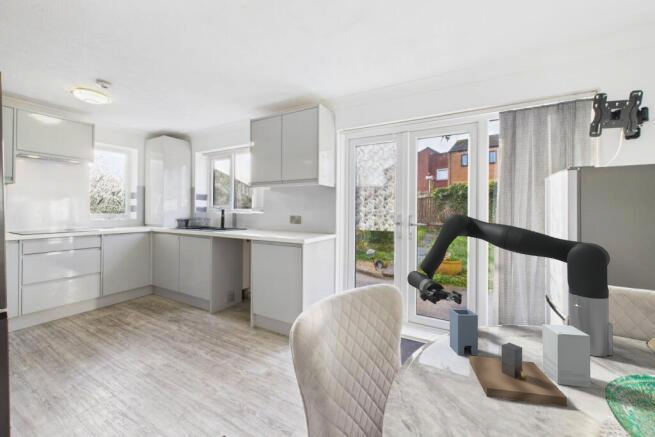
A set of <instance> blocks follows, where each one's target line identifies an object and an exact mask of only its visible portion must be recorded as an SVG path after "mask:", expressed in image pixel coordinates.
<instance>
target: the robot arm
mask: <svg viewBox="0 0 655 437" xmlns="http://www.w3.org/2000/svg"><path fill="white" fill-rule="evenodd" d="M458 237H469V238H474V239H479V240H481V241H485V242H487V243H489V244H491V245H492V246H495V247H498V248H499V249H501V250H504V251H505V250H506V251H509V252H513V253H516V254H520V255H524V256H525V255H526V256H530V257H531V256H532V257H538V258H539V257H540V258H546V259H547V258H548V259H552V260H557V261H560V262H563V263H566V269H567V270H566V273H567V274H566V275H567V277H566V278H567V284H568V301H569V302H568V305H569V307H568V314H569V316H568V317H569V318H568V320H569V324H568V326H573V327H575V328H576V329H578V330H580V331H582V332H584V333H585V334H587V335H589V336H590V356H592V357H593V356H594V357H602V358H603V357H608V356H607V355H609V356H611V355H613V356H614V345H613V344H614V339H613V338H614V336H613V335H614V325H613V323H612V322H610V298H609V297H610V295H609V294H610V289H609V283H608V282H609V281H608V266H609V264H610V261H611V257H610V253H609V252H608V251H607V250H606V249H605V248H604V247H603V246H601V245H599V244H596V243H592V242H591V243H590V242H583V241H574V240H569V239H563V238H558V237H554V236H551V235H548V234H545V233H543V232H542V233H541V232H537V231H535V230H531V229H528V228H527V229H526V228H522V227H519V226H514V225H509V224H502V223H496V222H495V223H493V222H487V221H485V220H484V221H483V220H480V219H477V218H474V217H471V216H468V215H465V214H459V213H458V214H455V213H453V214H451V215H448V216H447V217H446V218H445V220H444V222H443V224H442V226H441V229H440V231H439V232H438V235H437V237H436V239H435V240H434V243H433V245H432V246H431V247H430V250H429V251H428V253H427V254H426V256H425V257H424V259H423V260H422V262H421V263H420V265H419V267H420V269H421V271H423V272H424V273H422V272H419V271H417V270H411V271H410V272H409V273H408V275H407V278H406V280H407V283H408V284H409V285H410V286H411V287H413V288H414V289H417V290H418V291H419V298H420V299H421V300H422V301H424V302H427V301H428V302H429V303H432V304H433V305H437V302H440V301H446V302H454V303H455V304H457V305H461V304H462V298H463V297H462V296H463V294H461V293H460V292H458V291H456V290H451V291H449V290H446V288H444V286H443V284H441V283H439V282H437V281H435V280H434V279H433V278H434V276H435V274H436V271H437V270H438V269H439V267H440V266H441V264H442V263H443V261H444V260H445V258H446V255H447V251H448V249H449V247H450V245H451V244H452V243H453V242H454V241H455V240H456V239H457V238H458Z"/></svg>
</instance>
